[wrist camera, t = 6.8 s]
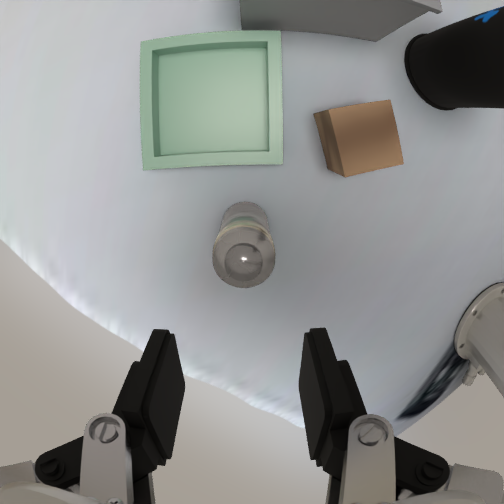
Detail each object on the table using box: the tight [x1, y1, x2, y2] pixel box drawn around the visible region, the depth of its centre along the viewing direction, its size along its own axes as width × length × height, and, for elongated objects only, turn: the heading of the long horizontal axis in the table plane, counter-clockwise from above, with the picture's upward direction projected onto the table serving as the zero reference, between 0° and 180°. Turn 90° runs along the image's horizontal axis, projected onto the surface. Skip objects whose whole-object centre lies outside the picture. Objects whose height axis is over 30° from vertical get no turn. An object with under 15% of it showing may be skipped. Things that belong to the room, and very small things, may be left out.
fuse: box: [213, 202, 275, 288], centre depth 23 cm, size 4×4×9 cm
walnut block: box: [314, 100, 404, 177], centre depth 21 cm, size 5×5×5 cm
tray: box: [140, 30, 283, 170], centre depth 21 cm, size 11×11×2 cm
